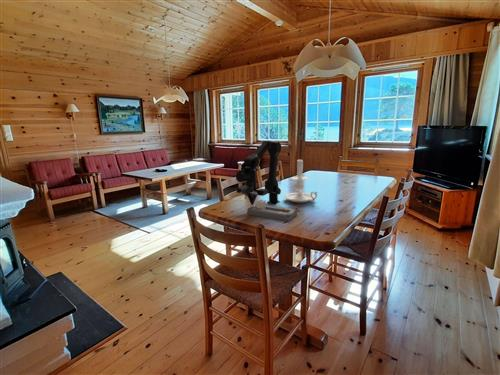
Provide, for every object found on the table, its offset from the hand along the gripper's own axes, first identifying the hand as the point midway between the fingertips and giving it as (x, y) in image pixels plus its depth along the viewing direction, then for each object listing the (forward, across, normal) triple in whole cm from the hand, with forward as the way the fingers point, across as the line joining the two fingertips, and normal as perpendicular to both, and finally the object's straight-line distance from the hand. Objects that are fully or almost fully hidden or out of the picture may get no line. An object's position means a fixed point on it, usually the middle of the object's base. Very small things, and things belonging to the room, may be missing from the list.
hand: (252, 204), depth 160 cm
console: (+4, +13, 0) cm, 14 cm away
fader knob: (+2, +6, 0) cm, 6 cm away
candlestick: (+4, +19, +32) cm, 37 cm away
